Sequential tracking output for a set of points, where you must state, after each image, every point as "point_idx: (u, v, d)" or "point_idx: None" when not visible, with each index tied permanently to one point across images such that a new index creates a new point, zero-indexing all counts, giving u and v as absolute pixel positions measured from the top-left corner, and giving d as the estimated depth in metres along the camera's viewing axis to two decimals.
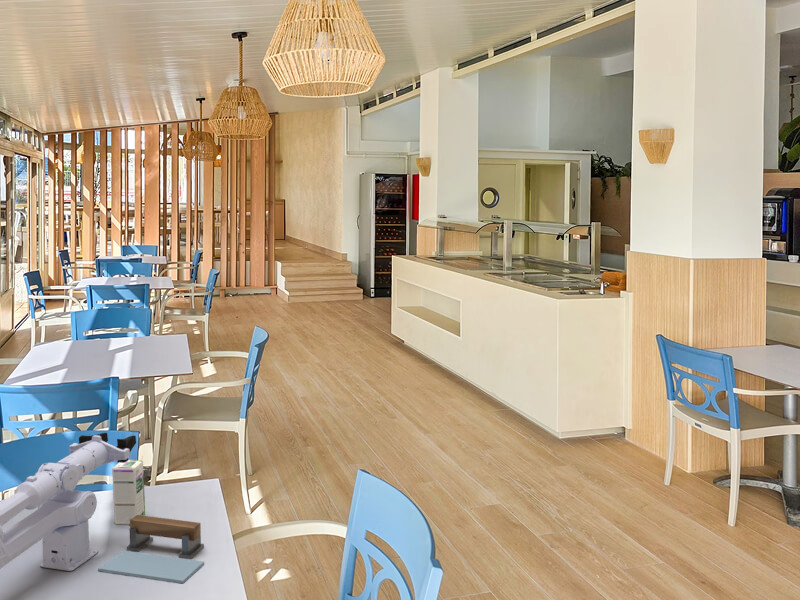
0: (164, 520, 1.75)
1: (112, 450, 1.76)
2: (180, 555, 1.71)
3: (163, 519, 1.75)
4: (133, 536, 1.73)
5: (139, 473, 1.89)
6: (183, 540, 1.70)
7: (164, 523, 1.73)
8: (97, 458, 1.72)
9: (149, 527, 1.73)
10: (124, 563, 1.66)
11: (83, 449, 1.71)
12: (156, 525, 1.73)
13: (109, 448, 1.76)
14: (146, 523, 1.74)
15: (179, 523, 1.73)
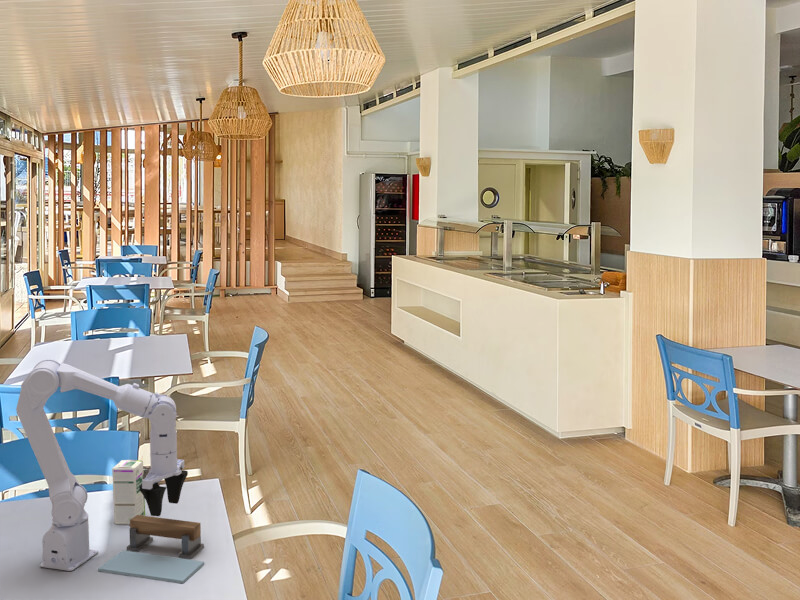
0: (164, 520, 1.75)
1: None
2: (180, 555, 1.71)
3: (163, 519, 1.75)
4: (133, 536, 1.73)
5: (139, 473, 1.89)
6: (183, 540, 1.70)
7: (164, 523, 1.73)
8: (158, 457, 1.69)
9: (149, 527, 1.73)
10: (124, 563, 1.66)
11: (176, 448, 1.73)
12: (156, 525, 1.73)
13: None
14: (146, 523, 1.74)
15: (179, 523, 1.73)
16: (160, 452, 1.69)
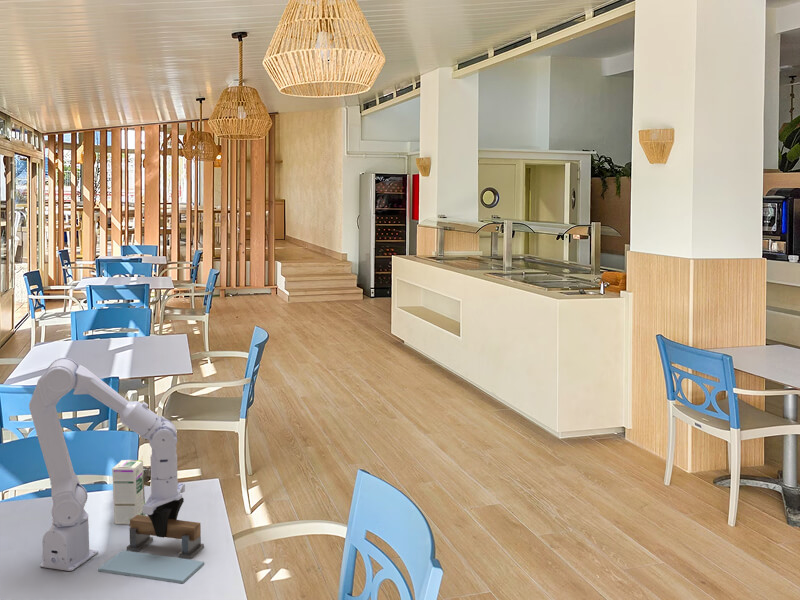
0: None
1: None
2: (180, 555, 1.71)
3: None
4: (133, 536, 1.73)
5: (139, 473, 1.89)
6: (183, 540, 1.70)
7: None
8: (159, 482, 1.70)
9: (149, 527, 1.73)
10: (124, 563, 1.66)
11: None
12: None
13: (162, 501, 1.70)
14: (146, 523, 1.74)
15: (179, 523, 1.73)
16: (161, 477, 1.70)
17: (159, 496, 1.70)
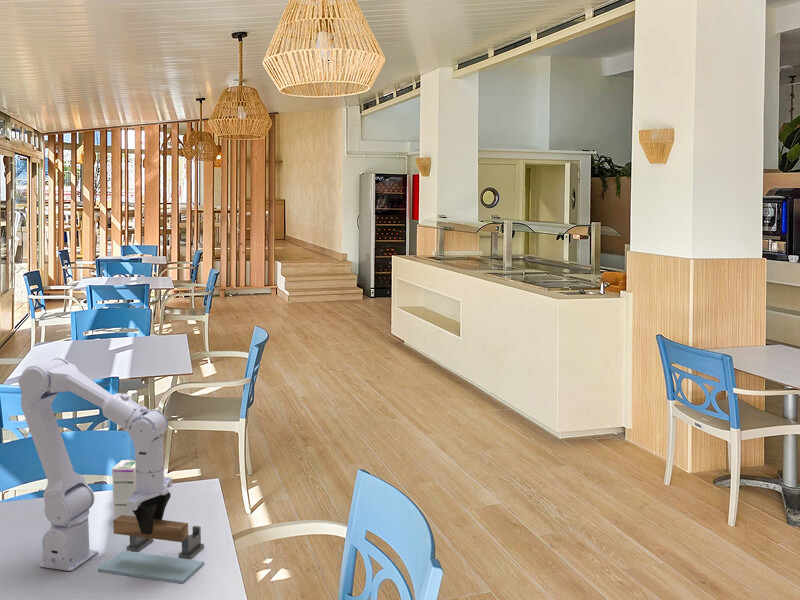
0: None
1: None
2: (180, 555, 1.71)
3: None
4: (133, 536, 1.73)
5: None
6: (183, 540, 1.70)
7: None
8: (144, 476, 1.60)
9: (134, 527, 1.64)
10: (124, 563, 1.66)
11: (161, 468, 1.62)
12: None
13: (147, 496, 1.60)
14: (130, 524, 1.64)
15: (165, 524, 1.63)
16: (140, 470, 1.61)
17: (144, 491, 1.61)
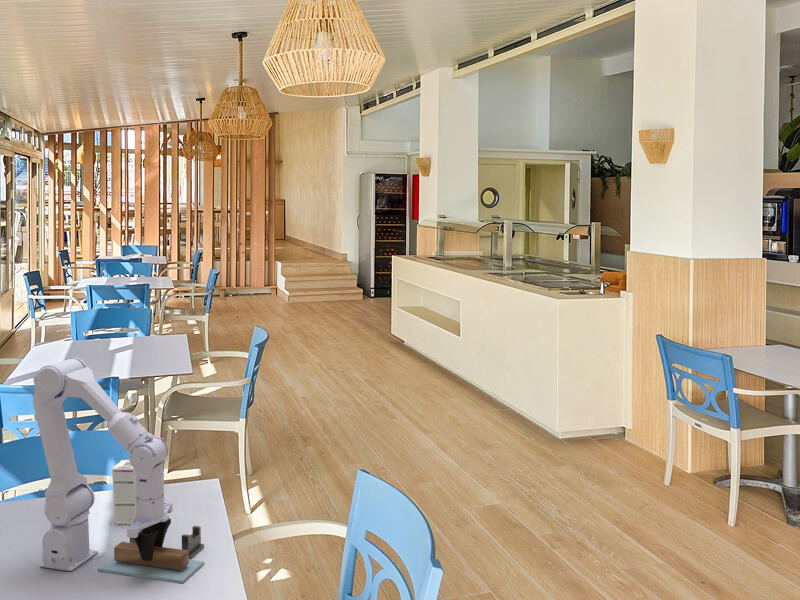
0: None
1: None
2: None
3: None
4: None
5: None
6: (183, 540, 1.70)
7: None
8: (144, 503, 1.61)
9: (134, 555, 1.65)
10: (124, 563, 1.66)
11: (161, 494, 1.63)
12: None
13: (147, 523, 1.61)
14: (131, 551, 1.65)
15: (165, 551, 1.64)
16: (140, 497, 1.61)
17: (144, 518, 1.61)
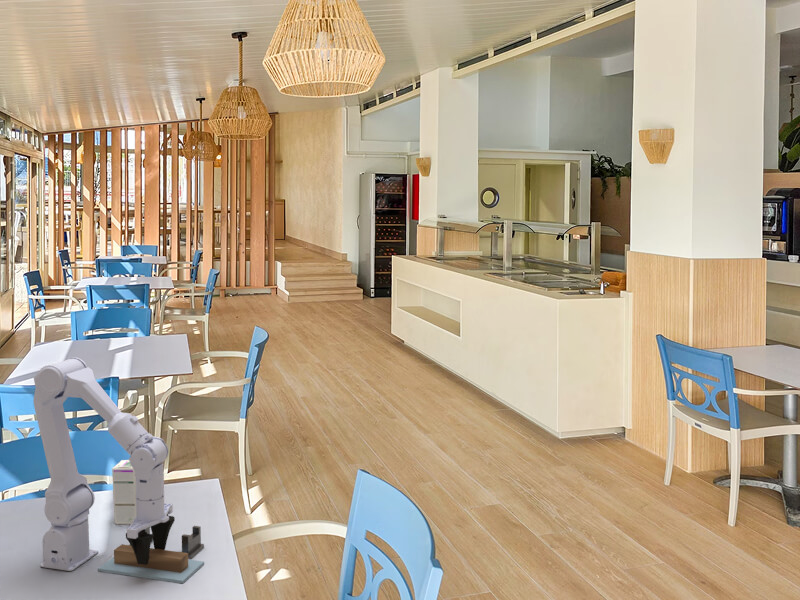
0: (150, 550, 1.66)
1: None
2: None
3: None
4: None
5: None
6: (183, 540, 1.70)
7: (150, 553, 1.64)
8: (144, 504, 1.61)
9: (134, 557, 1.65)
10: None
11: (161, 495, 1.63)
12: None
13: (147, 524, 1.61)
14: (131, 554, 1.65)
15: (165, 554, 1.64)
16: (140, 498, 1.61)
17: (144, 518, 1.61)
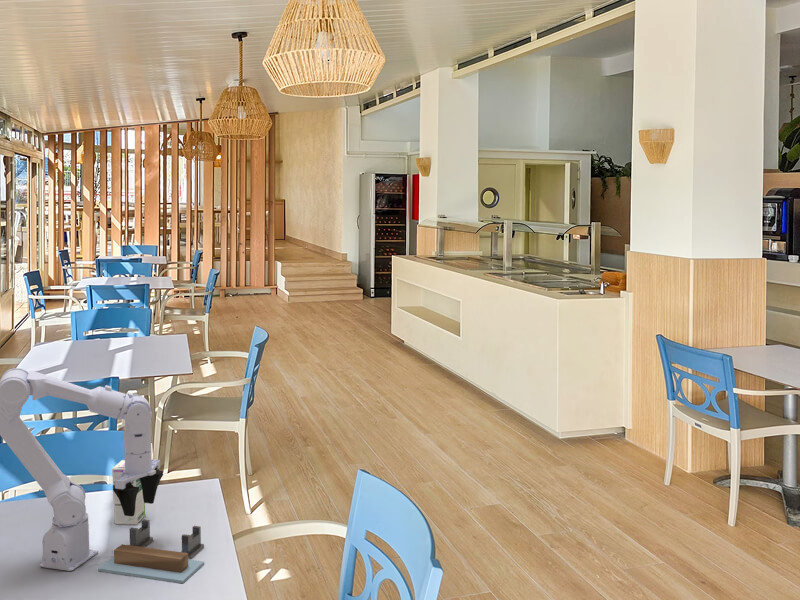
0: (150, 550, 1.66)
1: None
2: None
3: (149, 549, 1.66)
4: (133, 536, 1.73)
5: None
6: (183, 540, 1.70)
7: (150, 553, 1.64)
8: (132, 457, 1.69)
9: (134, 557, 1.65)
10: None
11: None
12: (141, 556, 1.64)
13: None
14: (131, 554, 1.65)
15: (165, 554, 1.64)
16: (135, 452, 1.69)
17: (132, 471, 1.70)
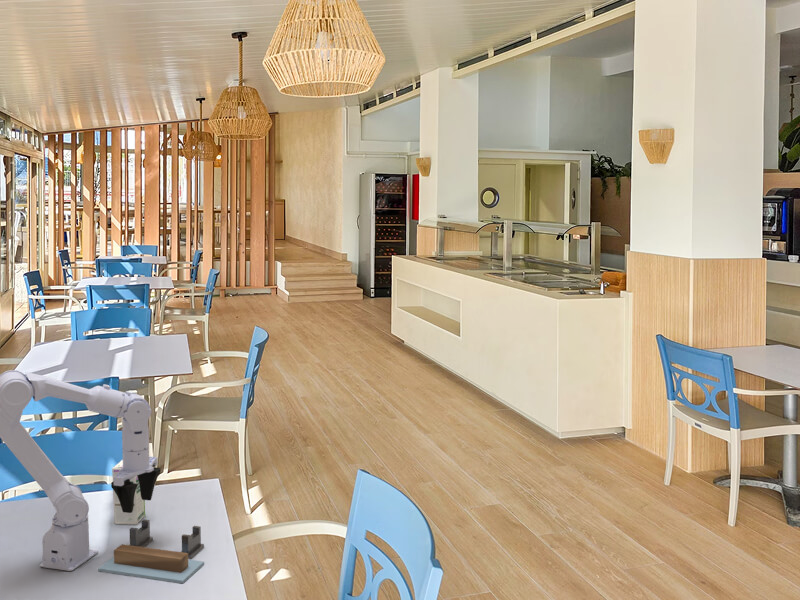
0: (150, 550, 1.66)
1: None
2: None
3: (149, 549, 1.66)
4: (133, 536, 1.73)
5: None
6: (183, 540, 1.70)
7: (150, 553, 1.64)
8: (130, 454, 1.71)
9: (134, 557, 1.65)
10: None
11: None
12: (141, 556, 1.64)
13: (133, 473, 1.71)
14: (131, 554, 1.65)
15: (165, 554, 1.64)
16: (135, 449, 1.71)
17: (130, 468, 1.71)
